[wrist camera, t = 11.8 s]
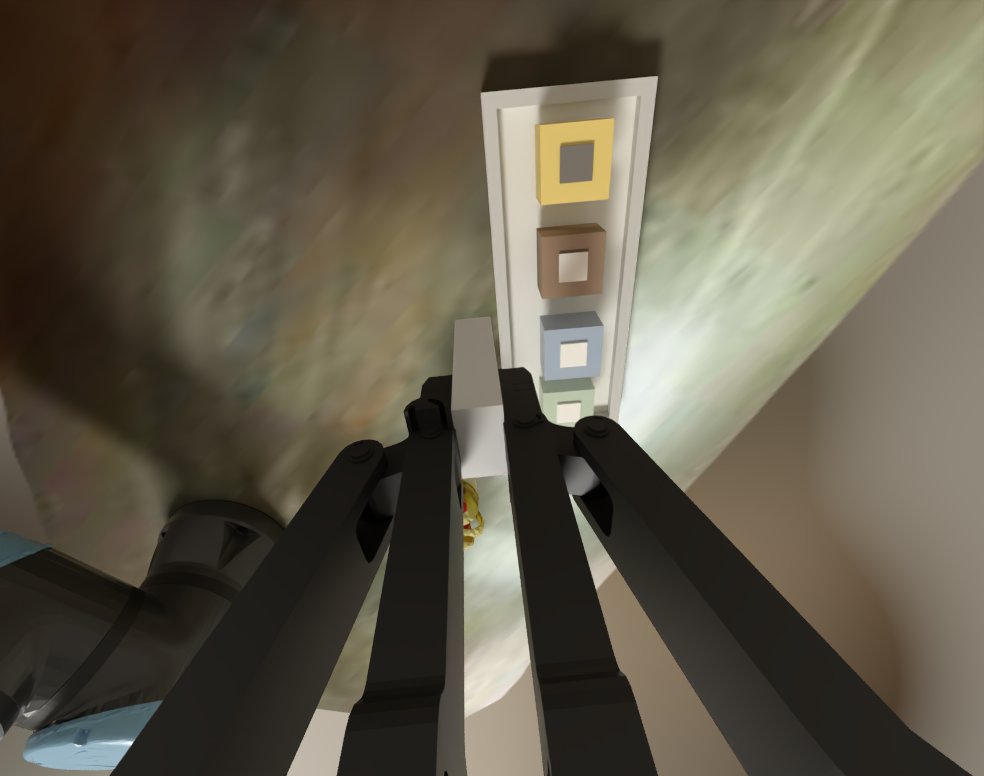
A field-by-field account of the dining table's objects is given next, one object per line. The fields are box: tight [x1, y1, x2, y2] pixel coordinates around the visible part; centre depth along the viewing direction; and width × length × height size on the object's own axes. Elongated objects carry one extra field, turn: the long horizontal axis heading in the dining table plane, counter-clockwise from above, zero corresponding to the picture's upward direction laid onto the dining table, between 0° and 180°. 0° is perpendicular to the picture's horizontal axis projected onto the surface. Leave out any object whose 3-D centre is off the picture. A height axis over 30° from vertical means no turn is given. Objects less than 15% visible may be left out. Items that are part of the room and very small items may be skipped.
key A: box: [535, 118, 615, 205], centre depth 29 cm, size 5×5×3 cm
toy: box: [461, 473, 484, 550], centre depth 42 cm, size 7×7×15 cm
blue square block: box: [540, 311, 604, 381], centre depth 36 cm, size 5×5×3 cm
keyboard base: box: [481, 76, 658, 423], centre depth 37 cm, size 12×30×2 cm, turn 4°
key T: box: [536, 223, 606, 299], centre depth 33 cm, size 5×5×3 cm
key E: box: [539, 376, 595, 427], centre depth 41 cm, size 5×5×3 cm
